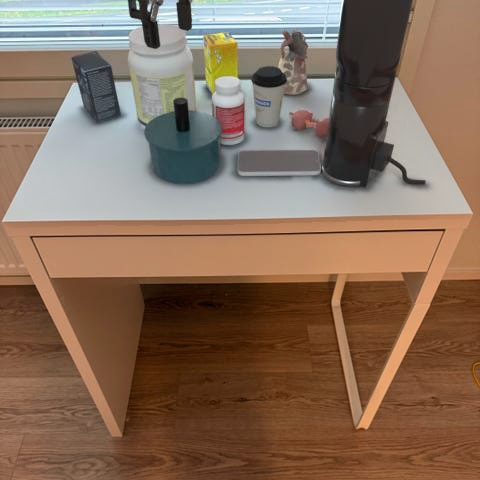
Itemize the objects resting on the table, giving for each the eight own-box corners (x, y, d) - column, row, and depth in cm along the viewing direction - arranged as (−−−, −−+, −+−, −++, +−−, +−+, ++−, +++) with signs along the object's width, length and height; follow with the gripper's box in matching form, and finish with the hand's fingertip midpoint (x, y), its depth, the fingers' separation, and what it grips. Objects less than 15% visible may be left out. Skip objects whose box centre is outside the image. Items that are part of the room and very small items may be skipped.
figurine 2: (296, 120, 104) (279, 127, 99) (299, 103, 101) (281, 110, 97) (347, 136, 99) (332, 145, 94) (351, 119, 97) (336, 127, 92)
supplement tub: (155, 105, 107) (142, 18, 94) (207, 114, 104) (201, 26, 91) (127, 132, 99) (110, 41, 86) (182, 143, 96) (173, 51, 83)
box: (83, 108, 106) (70, 56, 98) (108, 101, 108) (97, 50, 100) (96, 123, 102) (83, 70, 93) (122, 116, 103) (111, 64, 95)
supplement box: (205, 87, 112) (202, 34, 104) (230, 83, 113) (229, 31, 105) (212, 98, 108) (209, 45, 100) (238, 94, 110) (237, 41, 101)
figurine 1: (308, 94, 109) (314, 35, 100) (277, 95, 109) (280, 36, 100) (304, 80, 114) (310, 23, 105) (274, 81, 114) (276, 23, 105)
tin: (233, 157, 93) (232, 124, 88) (196, 191, 86) (193, 158, 81) (178, 140, 97) (174, 108, 92) (138, 171, 90) (132, 138, 85)
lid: (236, 127, 88) (235, 93, 84) (194, 163, 81) (191, 128, 76) (174, 109, 93) (170, 76, 88) (129, 142, 85) (122, 108, 81)
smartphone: (238, 150, 93) (317, 149, 92) (238, 154, 93) (317, 154, 93) (237, 172, 88) (321, 171, 87) (237, 176, 89) (321, 176, 88)
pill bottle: (250, 140, 97) (251, 83, 88) (224, 149, 95) (222, 92, 86) (233, 127, 100) (232, 71, 92) (207, 136, 98) (204, 79, 90)
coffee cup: (271, 110, 104) (273, 60, 97) (291, 124, 100) (295, 73, 93) (244, 119, 102) (244, 69, 94) (263, 133, 98) (264, 82, 90)
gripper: (144, -82, 59) (162, 59, 72) (208, -103, 67) (214, 27, 80) (97, -88, 62) (122, 49, 74) (164, -108, 70) (176, 19, 82)
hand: (170, 38), depth 77 cm, fingers open, 8 cm apart
